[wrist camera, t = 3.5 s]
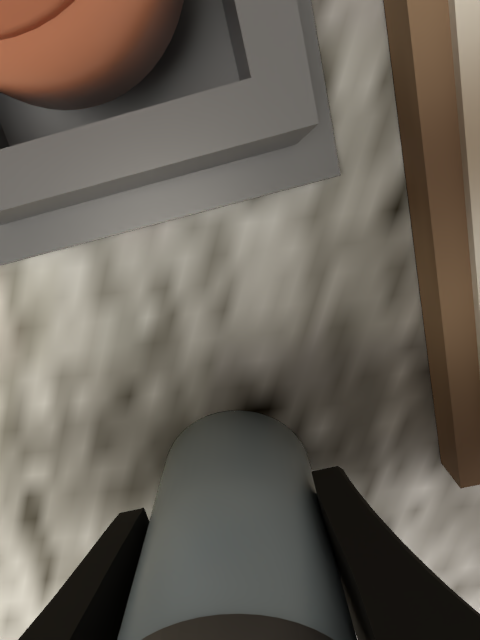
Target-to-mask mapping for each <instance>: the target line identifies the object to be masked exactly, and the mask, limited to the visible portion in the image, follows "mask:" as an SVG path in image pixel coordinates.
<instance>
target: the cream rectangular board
mask: <svg viewBox="0 0 480 640" xmlns="http://www.w3.org/2000/svg"><path fill="white" fill-rule="evenodd" d="M384 7H385V15H386V23H387V31H388V39H389V47H390V56H391V64H392V72H393V80H394V88H395V96H396V104H397V112H398V120H399V128H400V136H401V144H402V152H403V160H404V168H405V176H406V184H407V192H408V200H409V208H410V216H411V224H412V232H413V240H414V248H415V256H416V264H417V273H418V281H419V289H420V297H421V305H422V313H423V321H424V329H425V337H426V345H427V353H428V361H429V369H430V377H431V385H432V393H433V401H434V409H435V417H436V425H437V433H438V441H439V449H440V457H441V463H442V465H443V466H444V467H445V469H446V470H447V471H448V472H449V474H450V475H451V476H452V478H453V479H454V480H455V482H456V483H457V484H458V486H459V487H460V488H464V487H469V486H474V485H479V484H480V0H384Z"/></svg>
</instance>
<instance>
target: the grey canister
mask: <svg viewBox="0 0 480 640" xmlns="http://www.w3.org/2000/svg"><path fill="white" fill-rule="evenodd" d="M117 640H357V637H356V634H355V630H354V626H353V622H352V619H351V615H350V611H349V608H348V604H347V600H346V596H345V593H344V589H343V585H342V582H341V578H340V574H339V570H338V567H337V563H336V559H335V556H334V553H333V549H332V546H331V543H330V539H329V536H328V534H327V531H326V527H325V523H324V520H323V516H322V512H321V508H320V505H319V501H318V497H317V493H316V489H315V485H314V481H313V476H312V470H311V467H310V463H309V459H308V456H307V453H306V451H305V449H304V447H303V445H302V443H301V442H300V440H299V439H298V437H297V436H296V435H295V434H294V433H293V432H292V431H291V430H290V429H289V428H288V427H286V426H285V425H284V424H282V423H280V422H279V421H277V420H275V419H273V418H271V417H269V416H266V415H263V414H260V413H256V412H250V411H239V410H238V411H225V412H219V413H216V414H212V415H209V416H207V417H204V418H202V419H200V420H198V421H196V422H195V423H193V424H192V425H190V426H189V427H188V428H186V429H185V430H184V431H183V432H182V433H181V434H180V435H179V436H178V438H177V439H176V440H175V442H174V443H173V445H172V447H171V449H170V451H169V453H168V456H167V459H166V463H165V467H164V470H163V474H162V478H161V481H160V485H159V489H158V492H157V496H156V499H155V503H154V507H153V510H152V514H151V518H150V521H149V525H148V529H147V532H146V536H145V540H144V543H143V547H142V551H141V554H140V558H139V561H138V565H137V569H136V572H135V576H134V580H133V583H132V587H131V591H130V594H129V598H128V602H127V605H126V609H125V613H124V616H123V620H122V624H121V627H120V631H119V634H118V638H117Z"/></svg>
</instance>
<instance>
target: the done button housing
mask: <svg viewBox="0 0 480 640" xmlns="http://www.w3.org/2000/svg"><path fill="white" fill-rule="evenodd" d="M340 175H341V174H340V168H339V162H338V157H337V151H336V145H335V139H334V133H333V127H332V121H331V115H330V109H329V103H328V97H327V92H326V86H325V80H324V74H323V68H322V62H321V56H320V50H319V44H318V38H317V33H316V27H315V21H314V15H313V9H312V3H311V0H184V2H183V6H182V10H181V14H180V17H179V21H178V24H177V26H176V29H175V31H174V34H173V36H172V39H171V41H170V43H169V44H168V46H167V48H166V50H165V52H164V54H163V55H162V57H161V58H160V60H159V61H158V62H157V64H156V65H155V66H154V68H153V69H152V70H151V71H150V72H149V73H148V74H147V75H146V76H145V77H144V78H143V80H142V81H141V82H140V83H138V84H137V85H136V86H134V87H133V88H132V89H130V90H129V91H128V92H126V93H125V94H123V95H121V96H119V97H117V98H116V99H114V100H112V101H109V102H107V103H104V104H101V105H98V106H95V107H90V108H85V109H79V110H56V109H47V108H42V107H38V106H34V105H30V104H28V103H25V102H22V101H19V100H17V99H14V98H12V97H10V96H7V95H5V94H3V93H1V92H0V265H4V264H7V263H11V262H15V261H19V260H23V259H26V258H30V257H34V256H38V255H41V254H45V253H49V252H53V251H57V250H60V249H64V248H68V247H72V246H75V245H79V244H83V243H87V242H91V241H94V240H98V239H102V238H106V237H109V236H113V235H117V234H121V233H125V232H128V231H132V230H136V229H140V228H143V227H147V226H151V225H155V224H159V223H162V222H166V221H170V220H174V219H177V218H181V217H185V216H189V215H193V214H196V213H200V212H204V211H208V210H211V209H215V208H219V207H223V206H227V205H230V204H234V203H238V202H242V201H245V200H249V199H253V198H257V197H261V196H264V195H268V194H272V193H276V192H279V191H283V190H287V189H291V188H295V187H298V186H302V185H306V184H310V183H313V182H317V181H321V180H325V179H329V178H332V177H336V176H340Z"/></svg>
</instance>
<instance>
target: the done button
mask: <svg viewBox="0 0 480 640" xmlns="http://www.w3.org/2000/svg"><path fill="white" fill-rule="evenodd" d="M183 2H184V0H0V92H1V93H3V94H5V95H7V96H10V97H12V98H14V99H17V100H19V101H22V102H25V103H28V104H30V105H34V106H38V107H42V108H47V109H56V110H79V109H85V108H90V107H95V106H98V105H101V104H104V103H107V102H109V101H112V100H114V99H116V98H117V97H119V96H121V95H123V94H125V93H126V92H128V91H129V90H130V89H132V88H133V87H134V86H136V85H137V84H138V83H140V82H141V81H142V80H143V78H144V77H145V76H146V75H147V74H148V73H149V72H150V71H151V70H152V69H153V68H154V66H155V65H156V64H157V62H158V61H159V60H160V58H161V57H162V55H163V54H164V52H165V50H166V48H167V46H168V44H169V43H170V41H171V39H172V36H173V34H174V31H175V29H176V26H177V24H178V21H179V17H180V14H181V10H182V6H183Z"/></svg>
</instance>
